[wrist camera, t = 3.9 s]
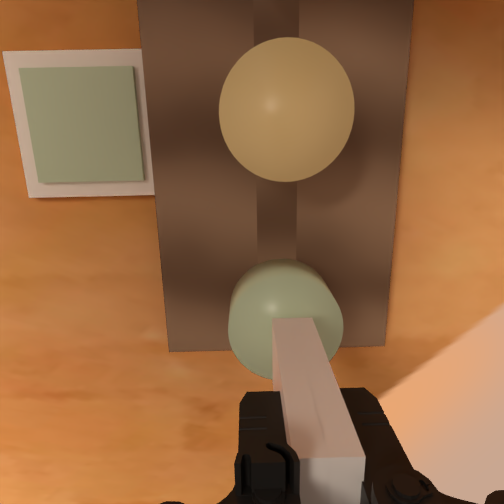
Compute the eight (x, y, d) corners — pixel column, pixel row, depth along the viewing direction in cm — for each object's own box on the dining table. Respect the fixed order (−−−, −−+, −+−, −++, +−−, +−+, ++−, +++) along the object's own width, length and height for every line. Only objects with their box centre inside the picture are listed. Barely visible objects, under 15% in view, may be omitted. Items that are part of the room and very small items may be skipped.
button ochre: (223, 66, 17) (215, 38, 13) (329, 64, 17) (358, 35, 13) (227, 174, 18) (222, 183, 14) (325, 171, 18) (350, 180, 14)
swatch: (8, 53, 18) (-3, 49, 18) (151, 50, 18) (147, 46, 18) (34, 196, 20) (25, 198, 20) (163, 193, 20) (160, 195, 20)
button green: (230, 247, 19) (225, 277, 15) (323, 245, 19) (346, 274, 15) (233, 331, 21) (230, 382, 16) (320, 329, 21) (341, 379, 16)
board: (132, -168, 16) (117, -211, 14) (410, -172, 16) (432, -214, 14) (175, 334, 23) (169, 352, 21) (372, 329, 23) (384, 346, 21)
